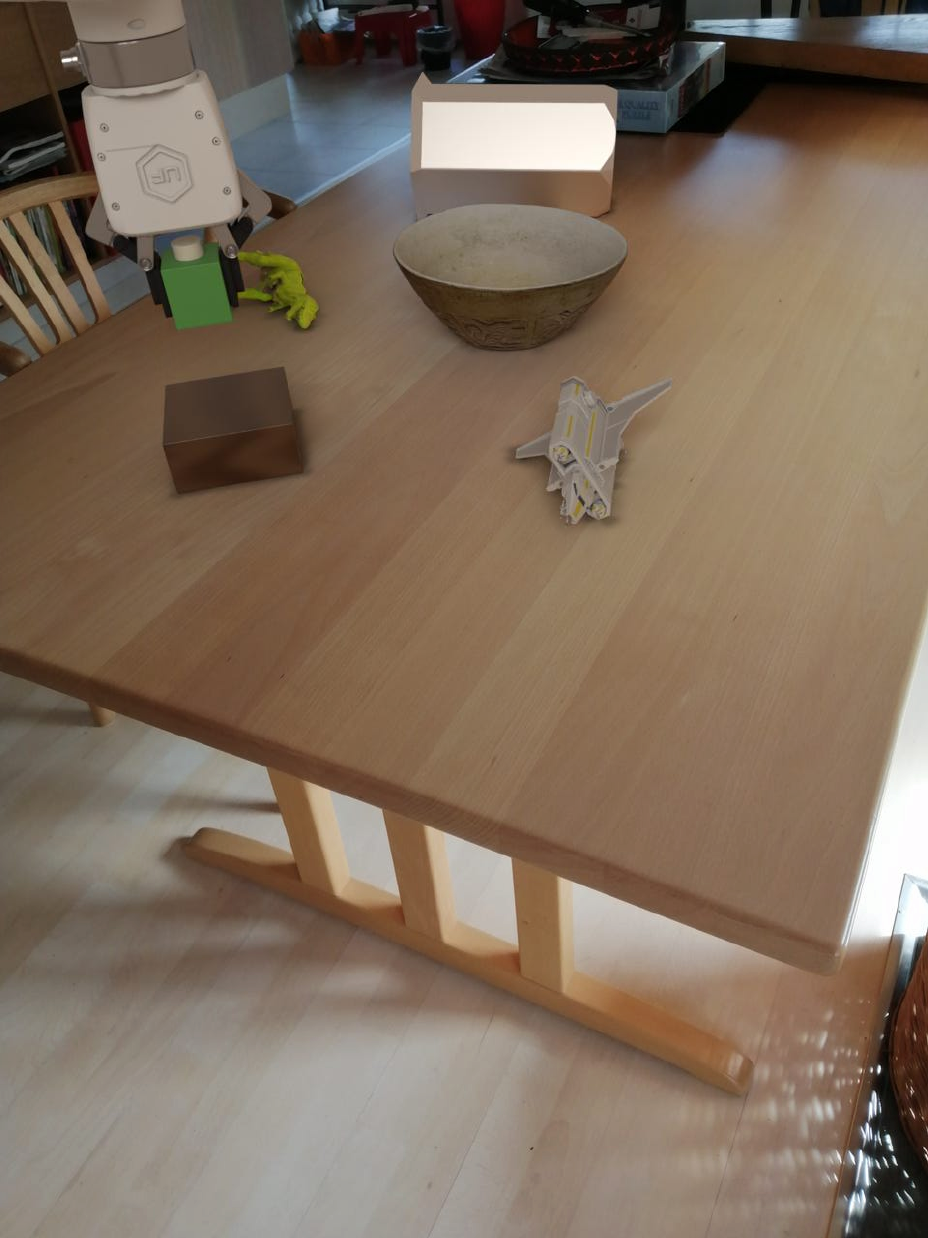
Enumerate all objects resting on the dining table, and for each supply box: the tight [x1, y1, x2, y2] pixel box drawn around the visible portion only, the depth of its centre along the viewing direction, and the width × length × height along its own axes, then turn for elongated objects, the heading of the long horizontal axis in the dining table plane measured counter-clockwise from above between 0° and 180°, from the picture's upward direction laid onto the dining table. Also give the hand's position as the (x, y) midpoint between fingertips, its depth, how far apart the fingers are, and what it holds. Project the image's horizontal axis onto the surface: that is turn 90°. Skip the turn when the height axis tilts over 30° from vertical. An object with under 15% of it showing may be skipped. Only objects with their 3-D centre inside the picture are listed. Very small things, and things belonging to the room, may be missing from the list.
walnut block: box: [162, 366, 303, 494], centre depth 90 cm, size 11×11×5 cm
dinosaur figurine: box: [238, 249, 320, 329], centre depth 115 cm, size 20×10×6 cm, turn 35°
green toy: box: [160, 234, 234, 331], centre depth 81 cm, size 5×5×6 cm
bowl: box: [392, 204, 629, 351], centre depth 104 cm, size 24×24×10 cm
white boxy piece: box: [409, 71, 618, 221], centre depth 130 cm, size 25×16×19 cm, turn 84°
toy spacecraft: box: [514, 374, 675, 528], centre depth 80 cm, size 8×15×15 cm
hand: (202, 303), depth 83 cm, fingers closed on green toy, 4 cm apart
